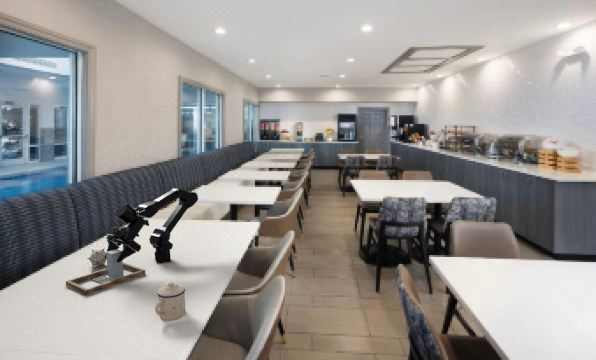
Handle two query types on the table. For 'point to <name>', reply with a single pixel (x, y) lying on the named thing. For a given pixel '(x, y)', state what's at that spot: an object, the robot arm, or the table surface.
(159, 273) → the table surface
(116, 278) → the pad
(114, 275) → the slate-blue block
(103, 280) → the frame
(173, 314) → the teacup with lid
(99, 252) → the game die
